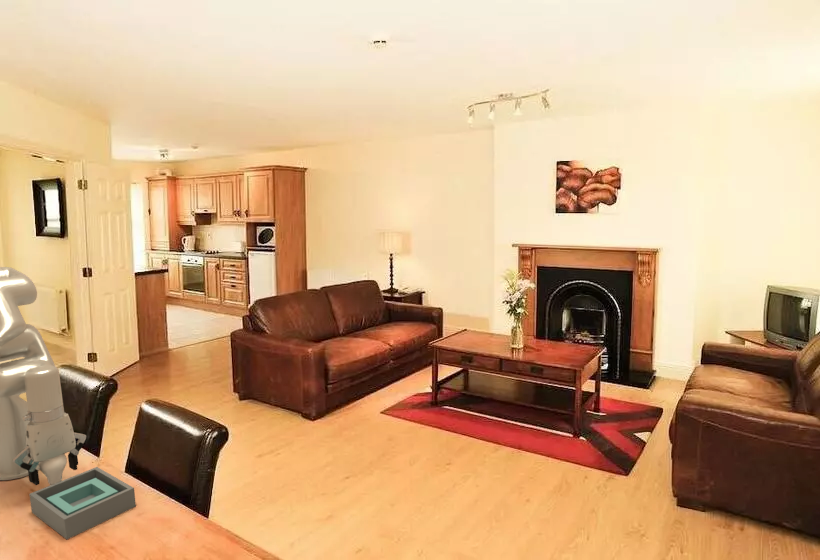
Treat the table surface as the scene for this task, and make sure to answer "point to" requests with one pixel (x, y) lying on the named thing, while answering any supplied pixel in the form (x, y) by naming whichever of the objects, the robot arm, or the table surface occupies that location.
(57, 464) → the lightbulb
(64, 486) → the open box
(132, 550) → the table surface
